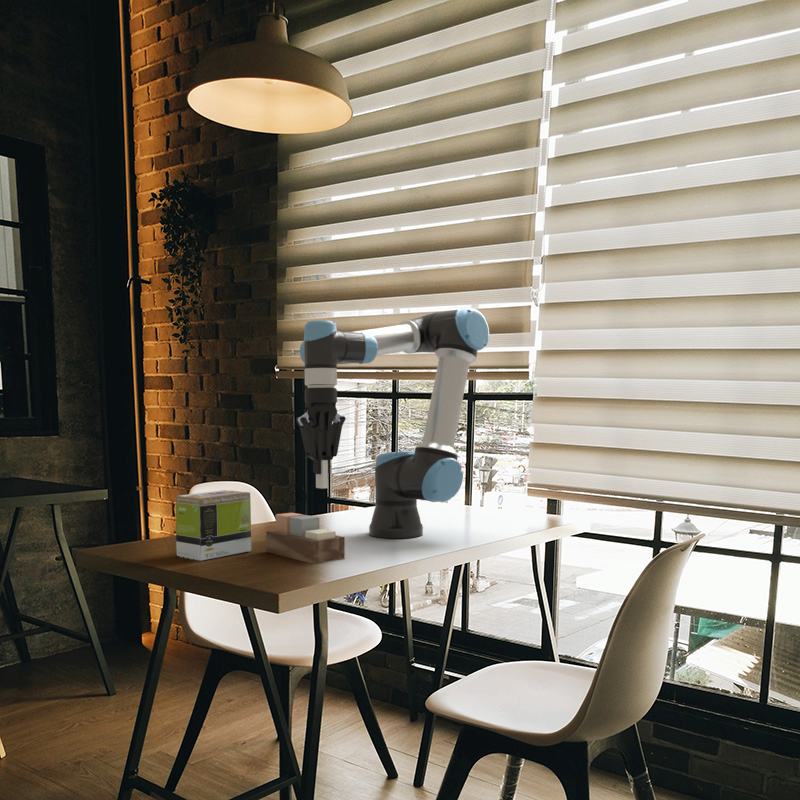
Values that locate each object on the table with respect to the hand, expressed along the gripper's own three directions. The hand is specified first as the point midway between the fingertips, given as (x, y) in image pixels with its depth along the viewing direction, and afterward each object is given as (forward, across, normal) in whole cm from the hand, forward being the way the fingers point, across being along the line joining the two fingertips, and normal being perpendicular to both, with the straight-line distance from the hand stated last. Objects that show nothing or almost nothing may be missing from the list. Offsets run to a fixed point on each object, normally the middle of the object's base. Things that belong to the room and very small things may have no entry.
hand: (321, 487), depth 169 cm
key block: (+17, +1, -6) cm, 18 cm away
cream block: (+16, +1, 0) cm, 16 cm away
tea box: (+17, +16, -22) cm, 32 cm away
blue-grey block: (+13, +1, -6) cm, 15 cm away
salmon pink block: (+13, +1, -13) cm, 18 cm away
